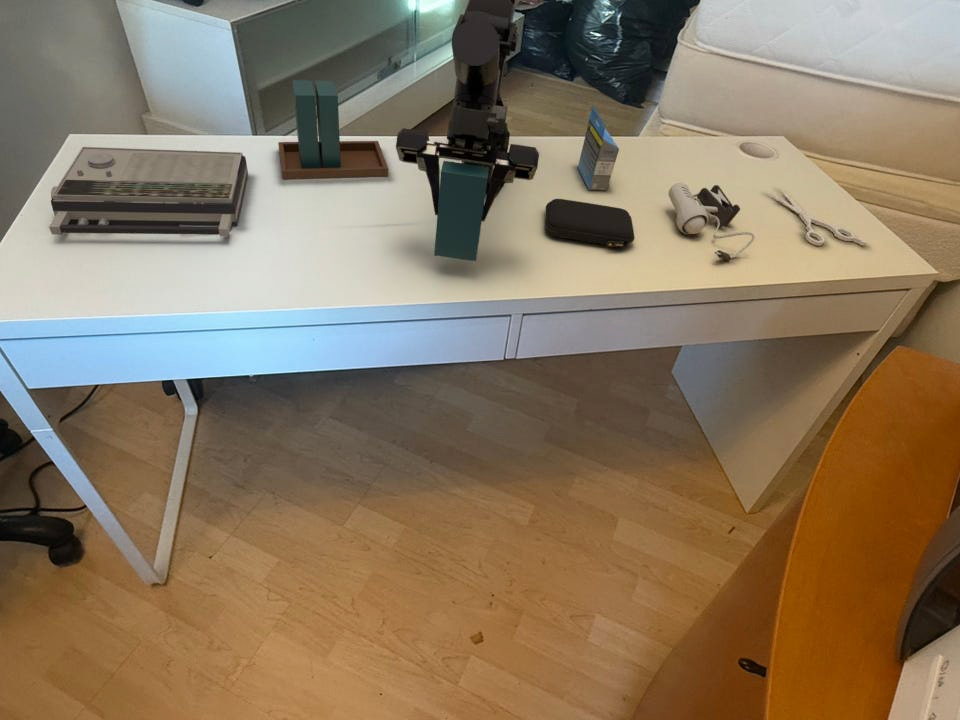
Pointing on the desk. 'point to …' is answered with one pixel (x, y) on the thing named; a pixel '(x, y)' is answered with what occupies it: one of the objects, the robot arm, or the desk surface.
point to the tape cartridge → (597, 154)
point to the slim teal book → (460, 210)
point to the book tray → (354, 158)
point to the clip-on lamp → (704, 212)
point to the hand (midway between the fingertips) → (459, 217)
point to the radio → (150, 192)
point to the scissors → (809, 219)
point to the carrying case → (589, 222)
